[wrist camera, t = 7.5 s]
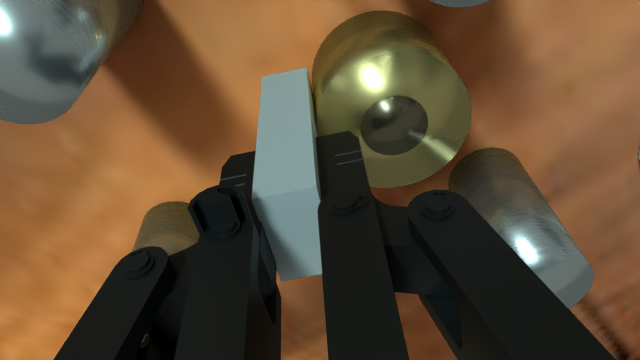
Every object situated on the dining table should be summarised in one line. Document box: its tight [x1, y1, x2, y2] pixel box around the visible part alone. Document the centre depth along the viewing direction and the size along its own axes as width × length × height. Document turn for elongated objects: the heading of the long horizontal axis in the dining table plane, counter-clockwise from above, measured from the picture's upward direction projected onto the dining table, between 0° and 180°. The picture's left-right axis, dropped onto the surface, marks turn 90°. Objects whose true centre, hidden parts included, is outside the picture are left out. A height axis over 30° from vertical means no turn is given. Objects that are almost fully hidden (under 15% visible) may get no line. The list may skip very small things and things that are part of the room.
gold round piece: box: [312, 11, 471, 188], centre depth 17 cm, size 5×5×4 cm
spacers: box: [0, 0, 594, 342], centre depth 16 cm, size 14×16×6 cm
